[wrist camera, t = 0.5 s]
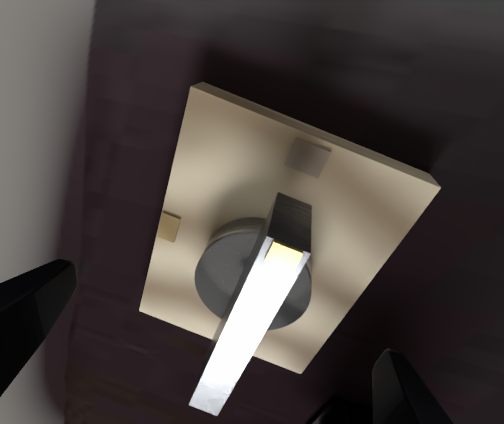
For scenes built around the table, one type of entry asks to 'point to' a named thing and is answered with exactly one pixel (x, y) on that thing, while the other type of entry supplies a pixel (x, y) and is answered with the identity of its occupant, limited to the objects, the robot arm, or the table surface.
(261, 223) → the silver dome with handle
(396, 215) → the base plate
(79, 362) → the table surface
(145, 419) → the table surface
